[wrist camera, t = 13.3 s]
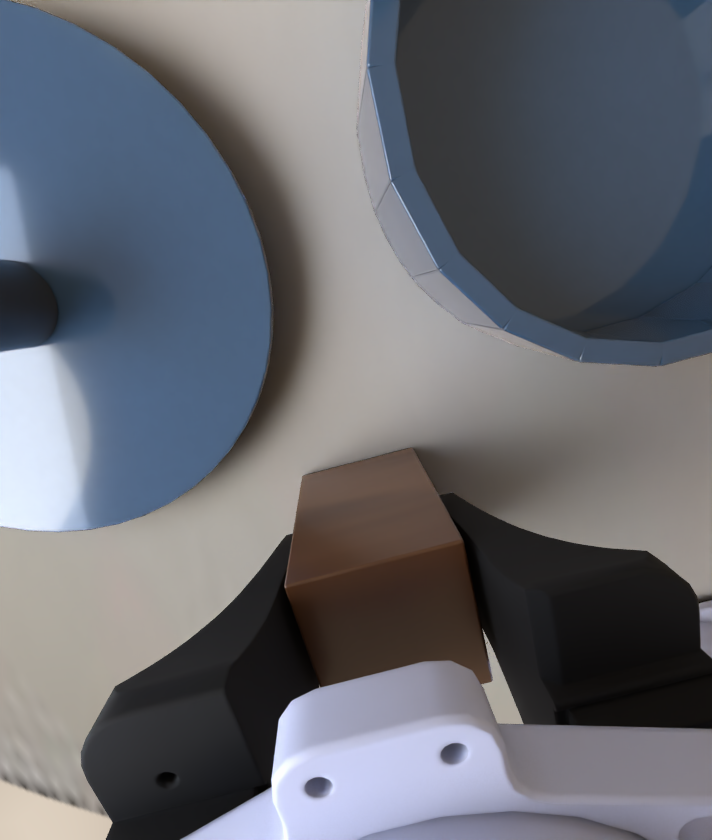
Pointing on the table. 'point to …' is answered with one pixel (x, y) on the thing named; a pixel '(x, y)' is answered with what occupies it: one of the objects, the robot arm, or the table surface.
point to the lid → (115, 286)
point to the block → (381, 573)
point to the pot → (548, 168)
